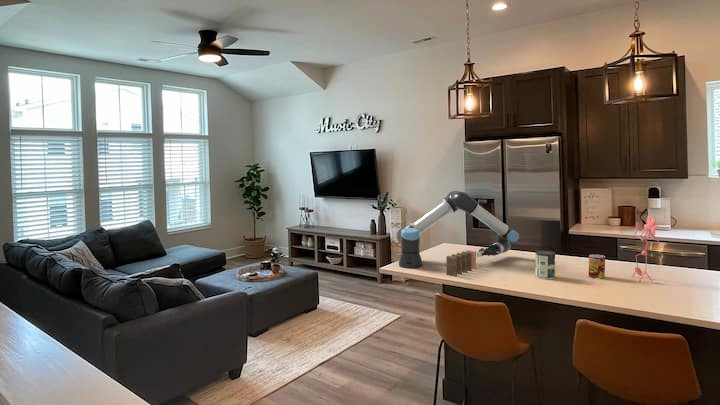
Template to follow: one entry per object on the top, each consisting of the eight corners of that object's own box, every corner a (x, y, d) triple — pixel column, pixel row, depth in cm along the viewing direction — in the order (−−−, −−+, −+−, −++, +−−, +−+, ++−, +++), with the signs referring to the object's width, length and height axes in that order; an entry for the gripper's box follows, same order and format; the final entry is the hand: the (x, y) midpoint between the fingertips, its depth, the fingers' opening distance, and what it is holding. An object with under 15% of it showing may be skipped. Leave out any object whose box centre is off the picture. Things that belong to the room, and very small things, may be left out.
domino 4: (470, 271, 256) (470, 253, 255) (461, 269, 260) (461, 251, 259) (471, 270, 257) (471, 252, 256) (462, 269, 261) (462, 251, 261)
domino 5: (474, 269, 260) (474, 251, 259) (466, 267, 264) (466, 250, 263) (476, 268, 261) (476, 251, 260) (467, 267, 265) (467, 249, 265)
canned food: (585, 276, 240) (585, 255, 239) (595, 274, 243) (596, 253, 242) (597, 279, 233) (598, 257, 232) (607, 278, 236) (608, 256, 235)
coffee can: (552, 274, 244) (552, 250, 243) (556, 279, 234) (557, 254, 233) (533, 274, 246) (533, 250, 245) (537, 279, 236) (537, 253, 235)
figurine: (644, 285, 219) (648, 218, 216) (623, 273, 244) (627, 212, 241) (677, 287, 216) (682, 219, 213) (653, 275, 241) (657, 213, 238)
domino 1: (455, 276, 244) (455, 257, 243) (446, 274, 249) (446, 256, 248) (456, 275, 246) (457, 257, 245) (448, 274, 250) (448, 255, 249)
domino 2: (460, 274, 248) (460, 256, 247) (451, 272, 253) (451, 254, 252) (461, 274, 249) (462, 255, 249) (453, 272, 254) (453, 254, 253)
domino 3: (465, 272, 252) (465, 254, 251) (456, 271, 256) (456, 253, 256) (466, 272, 253) (466, 254, 252) (458, 270, 258) (458, 252, 257)
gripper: (504, 256, 280) (487, 262, 264) (486, 253, 289) (468, 259, 273) (504, 244, 280) (487, 250, 263) (486, 242, 289) (468, 247, 272)
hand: (477, 254), depth 268 cm, fingers closed
